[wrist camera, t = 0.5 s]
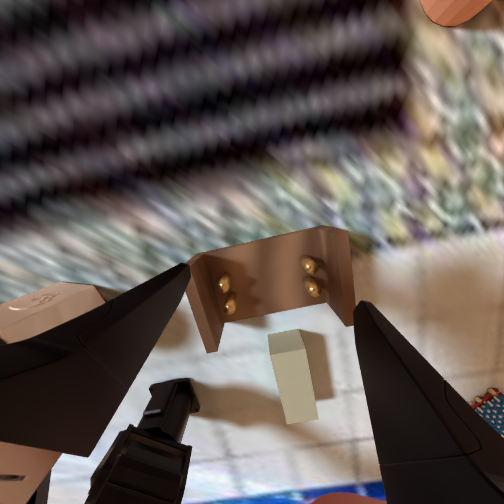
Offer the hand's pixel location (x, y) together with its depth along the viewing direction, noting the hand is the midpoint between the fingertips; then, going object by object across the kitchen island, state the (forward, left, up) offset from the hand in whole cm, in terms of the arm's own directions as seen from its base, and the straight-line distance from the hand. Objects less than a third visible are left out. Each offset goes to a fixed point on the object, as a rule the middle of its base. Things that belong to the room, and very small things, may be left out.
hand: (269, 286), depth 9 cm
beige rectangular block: (-20, 0, -14) cm, 24 cm away
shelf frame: (-5, 0, -14) cm, 14 cm away
